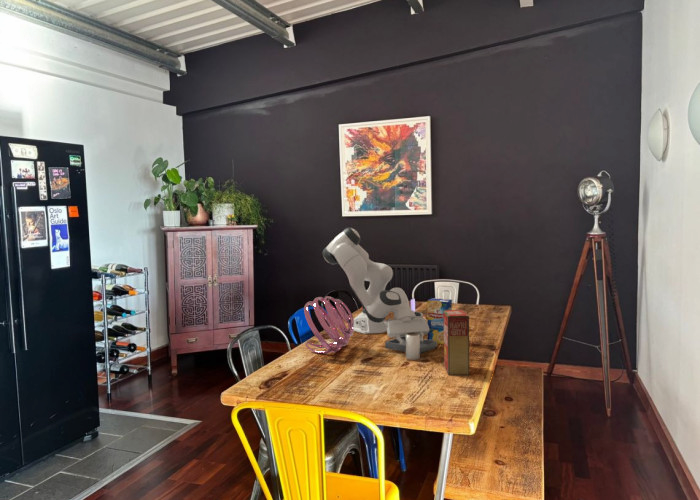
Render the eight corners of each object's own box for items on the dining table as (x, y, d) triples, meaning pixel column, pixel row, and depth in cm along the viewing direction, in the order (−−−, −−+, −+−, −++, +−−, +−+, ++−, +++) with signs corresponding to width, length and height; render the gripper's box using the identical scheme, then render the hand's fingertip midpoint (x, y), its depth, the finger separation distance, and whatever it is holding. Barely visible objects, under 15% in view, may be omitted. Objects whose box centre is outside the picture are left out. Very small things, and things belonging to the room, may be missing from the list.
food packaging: (442, 365, 227) (442, 309, 225) (464, 365, 227) (464, 309, 225) (447, 375, 214) (447, 315, 212) (470, 375, 213) (470, 315, 212)
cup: (403, 358, 240) (403, 334, 239) (410, 354, 244) (410, 332, 244) (414, 360, 235) (414, 336, 235) (422, 357, 240) (422, 333, 240)
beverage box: (447, 344, 262) (448, 301, 260) (427, 342, 267) (427, 300, 265) (451, 341, 268) (452, 299, 266) (431, 339, 273) (431, 298, 271)
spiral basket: (277, 314, 247) (323, 283, 242) (302, 316, 273) (343, 288, 268) (304, 365, 238) (352, 334, 233) (327, 363, 264) (370, 335, 259)
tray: (385, 347, 257) (385, 341, 257) (403, 341, 270) (402, 335, 269) (419, 354, 245) (419, 348, 244) (436, 347, 257) (436, 341, 257)
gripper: (385, 315, 243) (392, 341, 234) (425, 312, 248) (434, 337, 240) (382, 323, 247) (389, 348, 239) (421, 320, 253) (430, 344, 244)
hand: (412, 343), depth 239 cm, fingers open, 8 cm apart
